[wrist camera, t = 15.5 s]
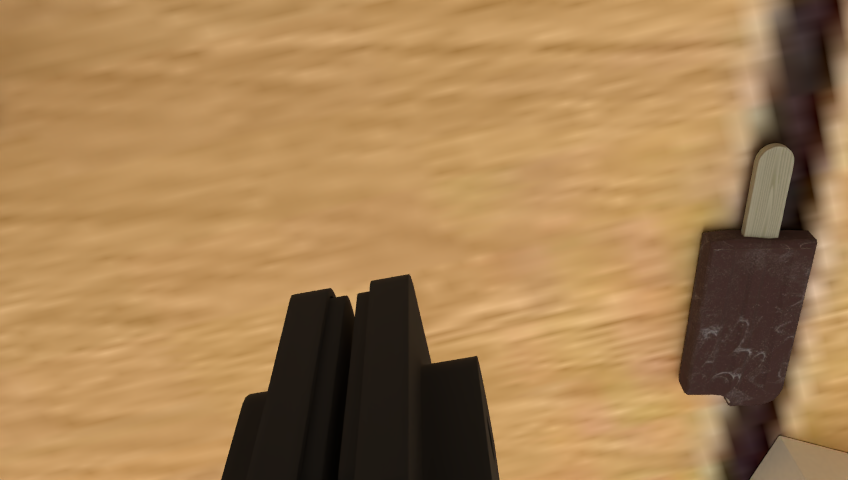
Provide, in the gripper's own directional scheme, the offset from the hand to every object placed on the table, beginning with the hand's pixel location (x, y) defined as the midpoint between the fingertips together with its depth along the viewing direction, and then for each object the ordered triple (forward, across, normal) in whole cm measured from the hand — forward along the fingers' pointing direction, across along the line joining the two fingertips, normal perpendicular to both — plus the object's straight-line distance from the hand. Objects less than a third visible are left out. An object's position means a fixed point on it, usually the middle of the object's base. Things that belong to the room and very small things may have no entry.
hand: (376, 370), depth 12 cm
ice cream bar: (+27, -15, +17) cm, 36 cm away
